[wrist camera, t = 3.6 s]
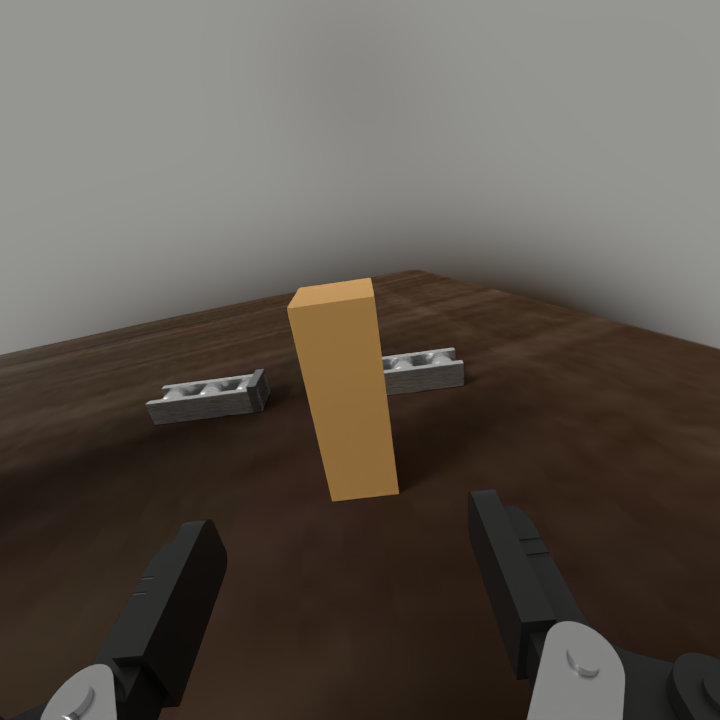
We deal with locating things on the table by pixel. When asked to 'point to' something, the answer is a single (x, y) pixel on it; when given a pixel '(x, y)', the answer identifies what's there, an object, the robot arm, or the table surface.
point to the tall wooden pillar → (346, 386)
